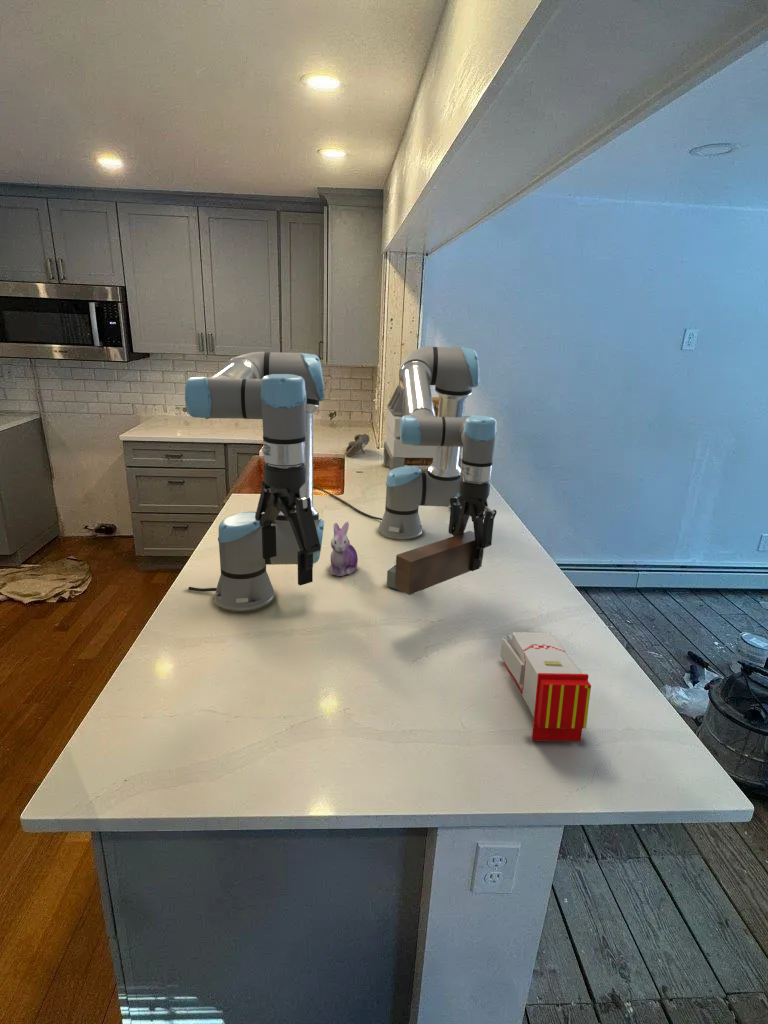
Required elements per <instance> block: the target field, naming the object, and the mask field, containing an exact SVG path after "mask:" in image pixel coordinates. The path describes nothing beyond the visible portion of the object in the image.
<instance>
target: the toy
mask: <svg viewBox="0 0 768 1024" xmlns="http://www.w3.org/2000/svg"><path fill="white" fill-rule="evenodd" d="M506 636H507V637H506V638H505V637H502V640H501V647H500V655H499V657H500V658H501V660H502V663H503V664H504V665H503V666H505V668H506V670H507V671H508V673H509V676H510V677H511V678H512V681H514V683H515V685H516V687H517V688H518V690H519V692H520V693H521V695H522V697H523V699H524V702H525V703H526V705H527V708H529V711H530V713H531V715H532V717H533V721H532V732H531V740H532V741H534V742H582V736H583V735H582V733H583V729H585V730H586V729H587V723H588V714H589V706H590V705H589V704H590V699H591V691H592V690H591V689H592V684H591V683H590V682H589V674H588V673H583V672H581V670H580V668H578V666H577V664H575V662H574V661H573V659H572V658H571V657H570V656H569V654H568V653H567V652H566V650H565V649H564V647H563V646H562V645H561V644H560V642H559V641H558V639H557V638H556V637H555V636H554V635H553V633H551V632H525V631H523V632H522V631H521V632H519V631H512V632H511V633H507V635H506Z"/></svg>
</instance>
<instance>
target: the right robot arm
mask: <svg viewBox="0 0 768 1024" xmlns="http://www.w3.org/2000/svg"><path fill="white" fill-rule="evenodd" d="M479 365H480V364H479V358H478V353H477V351H475V350H474V349H473V348H467V347H462V346H459V347H458V346H457V347H456V346H422V347H419V348H417V349H414V350H413V351H412V352H410V353H409V354H407V356H405V358H404V359H403V361H402V362H401V364H400V367H399V371H398V378H399V382H400V384H401V387H402V388H403V389H404V395H405V405H406V416H403V417H402V418H401V423H400V441H401V443H402V444H406V445H414V446H434V456H433V463H432V464H431V465H428V466H427V472H426V471H422V469H421V468H420V467H419V466H407V465H404V467H398V468H395V469H392V470H391V471H390V470H388V473H387V475H386V482H385V487H386V488H385V489H386V490H385V504H384V505H385V507H384V508H385V509H384V513H383V515H382V517H378V516H373V515H370V514H369V513H366V512H363V510H362V511H361V510H360V509H358V508H356V507H354V506H353V505H352V504H350V503H348V502H347V501H345V500H343V499H342V498H340V497H338V496H336V495H335V494H333V493H331V492H328V491H327V490H325V489H322V488H320V487H318V486H316V485H313V489H316V490H319V491H321V492H323V493H325V494H327V495H329V496H330V497H333V498H335V499H336V500H338V501H340V502H342V503H343V504H345V505H347V506H348V507H350V508H351V509H353V510H354V511H356V512H358V513H359V514H362V515H364V516H365V517H368V518H370V519H373V520H374V519H375V520H379V521H381V522H379V527H378V533H379V534H380V535H381V536H382V537H385V538H387V539H389V540H395V541H410V540H415V539H418V538H420V537H421V536H422V535H423V525H422V524H421V518H420V515H419V507H445V508H449V507H450V506H451V507H450V512H449V520H448V521H449V523H448V530H447V531H448V534H449V535H451V536H452V537H453V536H456V535H459V534H462V533H465V532H466V528H467V525H468V521H469V519H470V518H471V519H470V520H471V522H472V525H473V532H474V536H475V545H476V546H474V547H473V550H472V559H471V569H470V570H471V571H470V572H474V571H477V570H480V569H481V567H480V559H482V560H483V557H484V549H486V548H489V547H491V546H492V540H493V533H494V522H495V517H496V515H497V510H496V509H492V508H491V507H489V503H488V498H489V496H490V490H491V482H490V481H491V480H492V474H493V473H492V472H493V463H494V462H493V461H494V453H495V445H496V439H497V438H496V437H497V434H498V432H497V423H498V422H497V420H496V419H495V418H494V417H490V416H487V415H471V414H467V415H465V411H466V400H467V398H468V397H469V396H470V395H472V392H473V388H474V389H475V388H476V387H478V386H479V382H480V366H479ZM431 386H435V387H434V391H435V392H436V393H437V395H438V397H439V404H438V415H437V416H435V412H434V407H433V401H432V397H433V396H432V391H431ZM460 447H462V453H461V458H462V462H461V468H460V467H459V466H458V461H459V453H460ZM460 505H461V506H460ZM460 509H461V510H460Z"/></svg>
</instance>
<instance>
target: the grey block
mask: <svg viewBox="0 0 768 1024" xmlns="http://www.w3.org/2000/svg"><path fill="white" fill-rule="evenodd" d="M395 571H396V564H394V565H393V566H392V567H390V568H389V569H388V570H387V572H386V587H387V588H390V589H393V590H397V591H400V590H399V589H397V588H395Z"/></svg>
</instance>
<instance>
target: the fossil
mask: <svg viewBox="0 0 768 1024" xmlns="http://www.w3.org/2000/svg"><path fill="white" fill-rule="evenodd" d="M369 443H370V436H369V434H367V433H363V434H361V433H360V434H356V435H355V436H354V441H349V442H348V445H347V447H346V449H345V455H346V457H348V458H351V457H354V456H356V455H357V454H359V453H361V452H362V454H365V451H364V448H365V447H366V446H368V444H369Z"/></svg>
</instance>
